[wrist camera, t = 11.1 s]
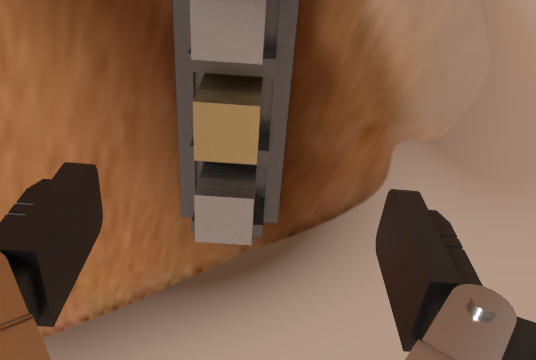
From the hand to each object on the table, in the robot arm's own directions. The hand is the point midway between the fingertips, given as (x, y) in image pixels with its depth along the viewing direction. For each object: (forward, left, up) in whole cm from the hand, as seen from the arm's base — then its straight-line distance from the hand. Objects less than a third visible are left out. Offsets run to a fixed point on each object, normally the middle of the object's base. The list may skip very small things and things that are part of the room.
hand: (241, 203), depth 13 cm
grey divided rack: (-2, -6, -22) cm, 23 cm away
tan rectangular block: (-2, -6, -21) cm, 22 cm away
